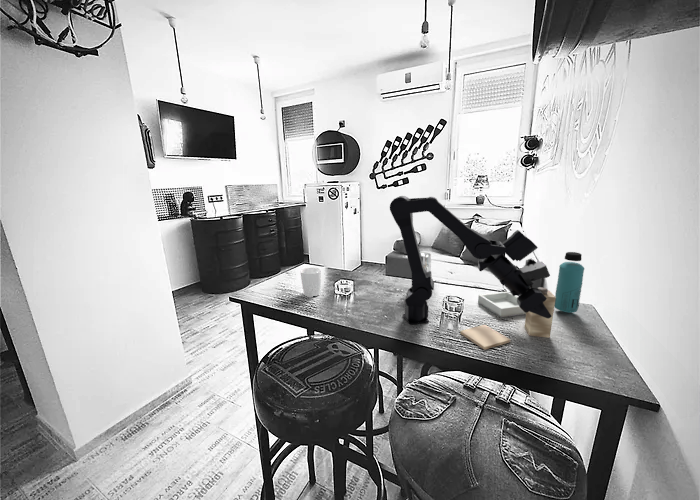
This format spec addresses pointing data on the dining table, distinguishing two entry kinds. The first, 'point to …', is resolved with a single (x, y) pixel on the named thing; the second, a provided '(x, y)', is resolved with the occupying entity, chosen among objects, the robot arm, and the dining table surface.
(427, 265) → the beer glass
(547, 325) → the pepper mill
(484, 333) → the cork coaster
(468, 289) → the dining table surface
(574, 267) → the beverage bottle
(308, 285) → the white cup
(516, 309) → the tray
